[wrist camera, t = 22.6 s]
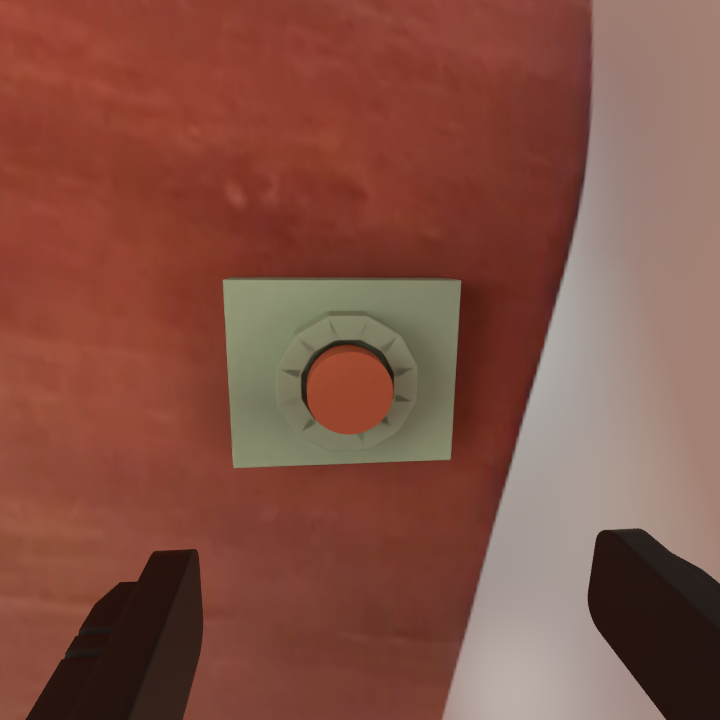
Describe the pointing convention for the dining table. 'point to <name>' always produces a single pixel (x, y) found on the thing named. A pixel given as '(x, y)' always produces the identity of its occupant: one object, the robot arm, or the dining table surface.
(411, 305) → the switch block
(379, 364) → the button
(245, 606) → the dining table surface
